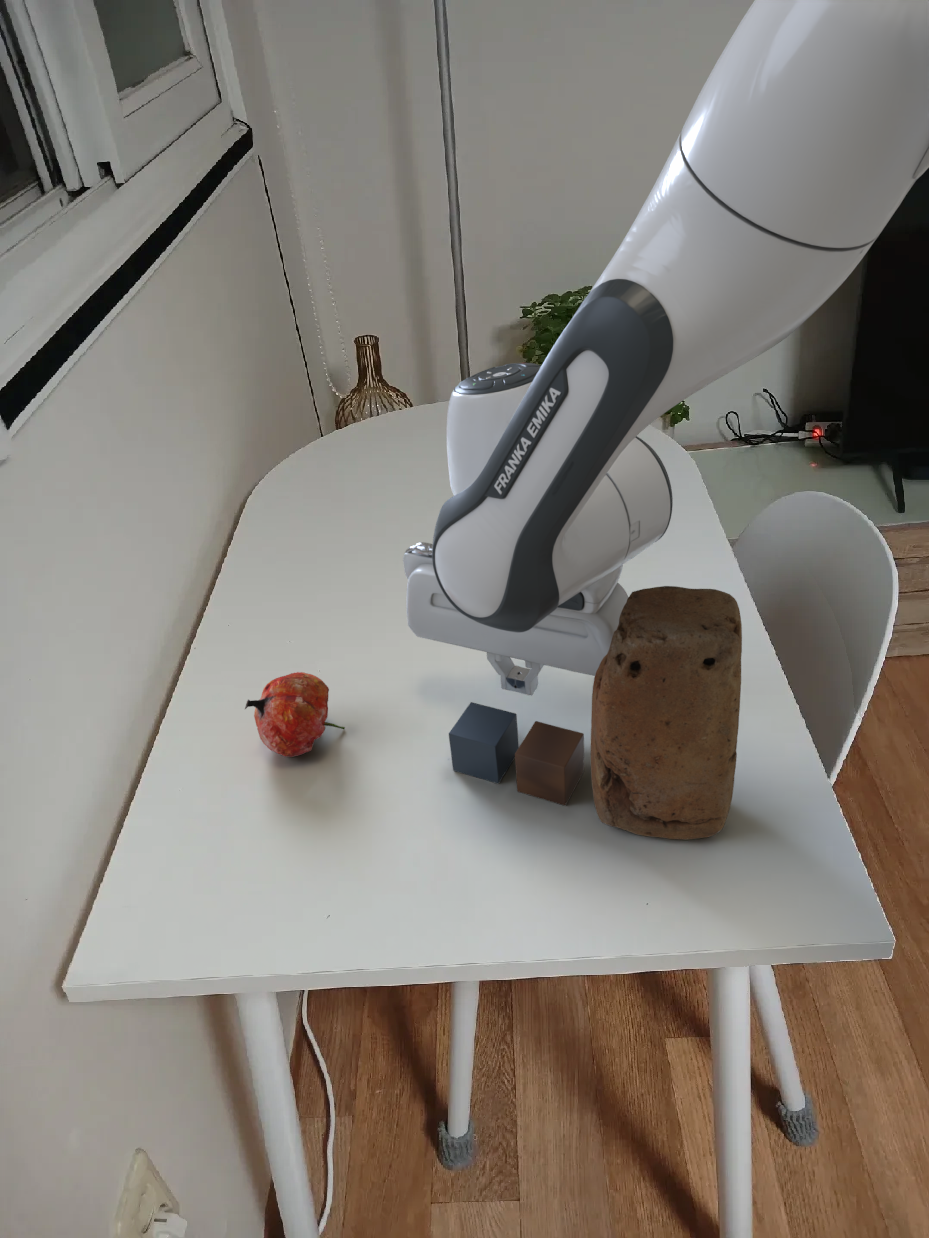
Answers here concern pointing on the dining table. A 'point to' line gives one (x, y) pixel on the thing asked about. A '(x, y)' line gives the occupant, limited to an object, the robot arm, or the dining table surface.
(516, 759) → the walnut cube
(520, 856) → the dining table surface
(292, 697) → the pomegranate
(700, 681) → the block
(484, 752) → the slate cube
